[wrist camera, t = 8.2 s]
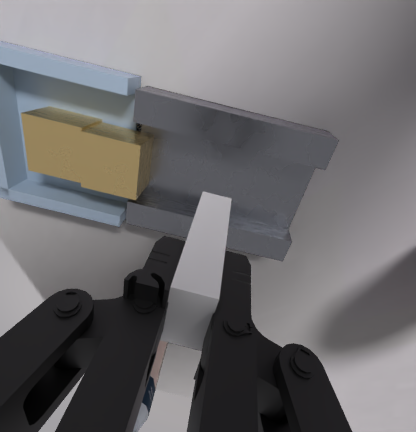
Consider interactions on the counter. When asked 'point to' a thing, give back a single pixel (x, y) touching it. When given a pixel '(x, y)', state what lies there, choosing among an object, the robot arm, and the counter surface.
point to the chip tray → (67, 100)
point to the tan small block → (54, 141)
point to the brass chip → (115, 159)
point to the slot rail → (225, 168)
